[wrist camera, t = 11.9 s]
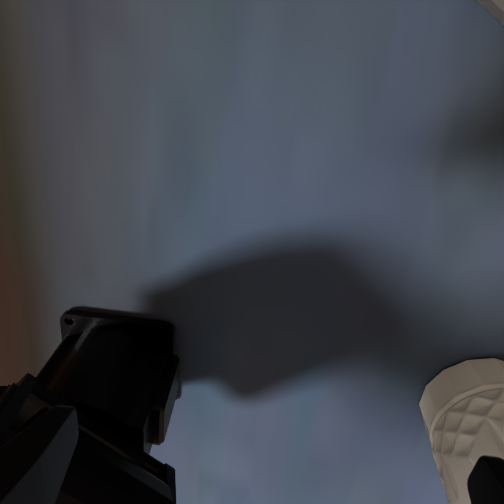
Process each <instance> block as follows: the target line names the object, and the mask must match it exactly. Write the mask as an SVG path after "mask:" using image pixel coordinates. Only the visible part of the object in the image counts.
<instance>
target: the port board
mask: <svg viewBox="0 0 504 504" xmlns="http://www.w3.org/2000/svg"><path fill="white" fill-rule="evenodd" d="M476 1H477V2H478V3H479V4H480V5H482V6H483V7H484V8H485V9H486V10H487V11H488V12H489V13H490V14H491V15H492V16H493V17H494V18H495V19H496V20H497V21H498V22H500V23H501V24H502V25H503V26H504V0H476Z"/></svg>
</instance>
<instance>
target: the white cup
mask: <svg viewBox="0 0 504 504" xmlns="http://www.w3.org/2000/svg"><path fill="white" fill-rule="evenodd" d="M419 406H420V410H421V414H422V418H423V422H424V425H425V427H426V430H427V433H428V436H429V438H430V441H431V445H432V448H431V449H432V454H433V456H434V459H435V462H436V464H437V468H438V472H439V475H440V478H441V481H442V484H443V486H444V489H445V492H446V496H447V500H448V503H449V504H471V501H470V497H469V493H468V488H467V480H468V477H469V475H470V473H471V471H472V469H473V467H474V466H475V464H476V462H477V460H478V458H479V457H481V456H482V455H487V456H495V457H500V458H502V459H503V460H504V361H502V360H499V359H496V358H487V359H473V360H466V361H464V362H461V363H459V364H456V365H454V366H451V367H449V368H446V369H444V370H443V371H441V372H440V373H439V374H438V375H437V376H436V377H435V378H434V379H433V380H432V381H430V382H429V383H428V384H427V385H426V387H425V389H424V392H423V395H422V397H421V400H420V403H419Z"/></svg>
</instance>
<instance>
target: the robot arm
mask: <svg viewBox="0 0 504 504" xmlns="http://www.w3.org/2000/svg"><path fill="white" fill-rule="evenodd" d="M68 318H71V319H72V320H73V321H71V320H69V319H68ZM60 325H61V334H62V342H61V343H60V345H59V346H58V348H57V349H56V350H55V352H54V353H53V355H52V356H51V357H50V359H49V360H48V361H47V363H46V364H45V366H44V367H43V368H42V370H41V371H40V373H39V374H38V375H37V377H36V378H35V377H34V376H32V375H31V374H29V373H27V374H26V375H25V376H24V377H23V378H22V379H21V380H20V381H19V382H18V383H17V384H15V383H13V384H12V385H8V386H0V504H176V484H175V469H174V468H173V467H171V466H170V465H168V464H166V463H165V464H163V463H161V462H160V461H158V460H157V459H155V458H153V457H152V456H150V455H149V453H150V450H151V446H152V444H154V445H160V444H161V443H162V442H164V439H165V436H166V432H167V428H168V425H169V421H170V418H171V414H172V410H173V407H174V403H175V399H176V396H177V392H178V388H179V366H180V359H179V357H178V356H177V355H174V339H175V328H174V326H173V324H171V323H169V322H165V321H157V320H149V319H140V318H132V317H123V316H115V315H107V314H98V313H90V312H82V311H73V310H68V311H65V312H64V314H63V315H62V316H61V318H60ZM162 329H166V330H168V331H169V332H164V331H163V330H162ZM467 488H468V493H469V497H470V501H471V504H504V460H503V459H502V458H500V457H495V456H487V455H482V456H481V457H479V458H478V460H477V462H476V464H475V466H474V467H473V469H472V471H471V473H470V475H469V477H468V480H467Z"/></svg>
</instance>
